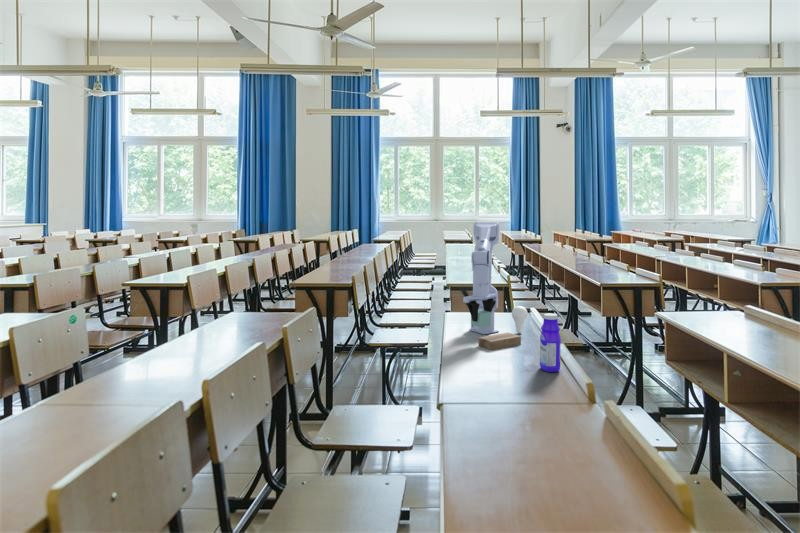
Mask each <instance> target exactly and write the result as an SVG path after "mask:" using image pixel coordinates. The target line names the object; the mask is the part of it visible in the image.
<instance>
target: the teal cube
mask: <svg viewBox="0 0 800 533" xmlns="http://www.w3.org/2000/svg"><path fill="white" fill-rule="evenodd" d="M471 325H474V326H478V327H484V326H491V312H489V311H485V310H478V319H477V322H475V321H472V317H471V316H470V326H471Z"/></svg>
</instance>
